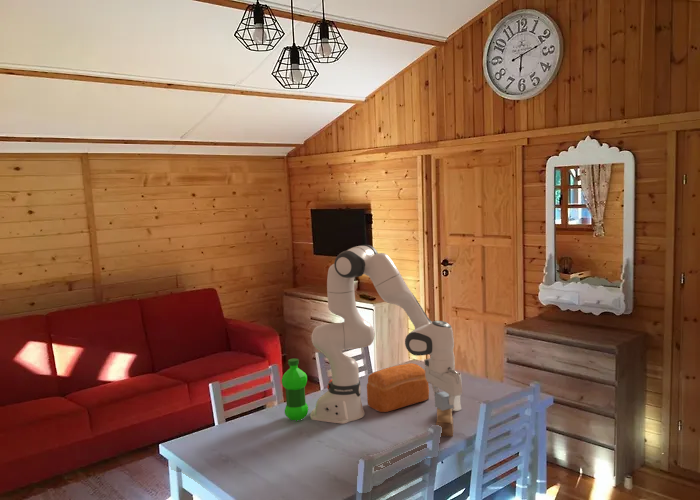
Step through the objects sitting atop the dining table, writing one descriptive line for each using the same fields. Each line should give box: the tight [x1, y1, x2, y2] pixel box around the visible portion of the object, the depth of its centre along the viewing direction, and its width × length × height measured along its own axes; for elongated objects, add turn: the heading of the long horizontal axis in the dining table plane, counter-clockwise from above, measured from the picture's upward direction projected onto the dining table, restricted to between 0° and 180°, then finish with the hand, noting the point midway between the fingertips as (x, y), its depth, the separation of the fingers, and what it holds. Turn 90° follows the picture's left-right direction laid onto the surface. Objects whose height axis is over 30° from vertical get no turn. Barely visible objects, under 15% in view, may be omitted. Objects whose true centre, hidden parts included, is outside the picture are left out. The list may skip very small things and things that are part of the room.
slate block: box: [434, 391, 454, 411], centre depth 223 cm, size 5×5×5 cm
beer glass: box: [452, 371, 463, 412], centre depth 246 cm, size 7×7×15 cm
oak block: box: [436, 407, 453, 423], centre depth 223 cm, size 5×5×5 cm
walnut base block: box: [435, 416, 455, 437], centre depth 224 cm, size 6×6×5 cm
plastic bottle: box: [281, 358, 309, 422], centre depth 243 cm, size 10×10×25 cm
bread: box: [366, 362, 430, 413], centre depth 256 cm, size 14×26×16 cm, turn 122°
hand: (443, 400), depth 223 cm, fingers open, 8 cm apart
